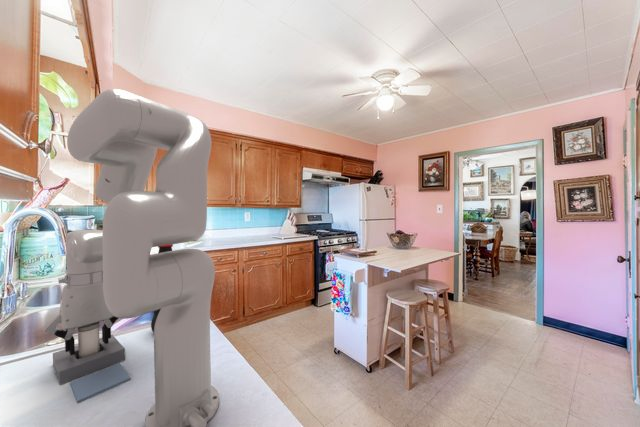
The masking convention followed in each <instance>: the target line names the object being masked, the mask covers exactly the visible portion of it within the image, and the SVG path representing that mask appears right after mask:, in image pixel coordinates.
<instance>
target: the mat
mask: <svg viewBox="0 0 640 427" xmlns="http://www.w3.org/2000/svg"><path fill="white" fill-rule="evenodd" d="M130 380H132V377H131V375H129V373H128V372H127V370H126V369H125V368H124V366H123V365H122V364H121V362H118V363H116V364H113V365H110V366H108V367H105V368H103V369H100V370H97V371H95V372H92V373H90V374H87V375H85V376H82V377H79V378H77V379H74V380H72V381H69V385H70V388H71V390H72V392H73V395H74V398H75V400H76V403H77V404H79V403H82V402H83V401H86V400H88V399H90V398H92V397H95V396H97V395H99V394H102V393H105V392H106V391H108V390H111V389H114V388H115V387H117V386H119V385H122V384H124V383H126V382H129V381H130Z"/></svg>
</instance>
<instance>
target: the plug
mask: <svg viewBox="0 0 640 427" xmlns="http://www.w3.org/2000/svg"><path fill="white" fill-rule="evenodd" d="M100 322H101V321H100ZM100 322H96V323H92V324H89V325H85V326H81V327H77V328H76V329H77V340H78V342H77V345H78V350H79V359H80V358H83V357H86V356H89V355H92V354H95V353H98V352H100V344H99V339H100V325H101V324H100Z"/></svg>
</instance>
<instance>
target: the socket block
mask: <svg viewBox="0 0 640 427" xmlns="http://www.w3.org/2000/svg"><path fill="white" fill-rule="evenodd" d="M108 340H109V343H107V344H105V343H104V342H103V341H102V337H99V344H100V352H98V353H95V354H92V355H89V356H86V357H83V358H80V359H79V350H78V344H77V345H75V354H74V355H70V353H69V352H66V351H65V348H64V349H61V350H58V351H55V352H52V365H53V369H54V372H55V375H56V378H57V381H58V384H59V386H60V385H64V384H66V383H70V382H72V381H74V380H77V379H79V378H82V377H85V376H87V375H90V374H92V373H95V372H97V371H100V370H102V369H105V368H108V367H110V366H113V365H115V364H118V363H121V362H124V361H125V360H126V348H125V347H124V345H123V344H121V342H120V341H119V340H118V339H117V338H116V337H115V336H114V334H111V338H109V339H108Z"/></svg>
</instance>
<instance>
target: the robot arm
mask: <svg viewBox="0 0 640 427" xmlns="http://www.w3.org/2000/svg"><path fill="white" fill-rule="evenodd" d="M66 139H67V140H66V144H67V149H68V153H69V154H70V156H72V158H73V159H74V160H77V161H79V162H82V163H89V164H90V163H91V164H95V165H96V164H97V165H101V166H100V171H99V173H98V177H97V180H96V183H95V185H94V186H95V187H94V194H95V196H96V197H97V198H98V199H99V200H100V201H102V202H104V203H106V204H107V205H106V208H105V209H104V214H103V218H102V219H103V220H102V230H101V229H79V230H78V229H77V230H72V231H70V232H68V233H66V236H65V237H66V238H65V249H66V252H65V253H66V255H65V256H66V273H65V275H64V276H62V277H58V284H66V285H65V286H63V288H62V291H61V297H60V306H59V314H58V315H56V316H55V317H54V318H53V319H52V320H51V321H50V322H49V323H48V324H47V325H46V326H45V327H44V332H45V333H48V334H51V335H54V336H55V337H58V338H61V339H63V340H64V349H65V351H66V352H69V353H70V355H74V354H75V346H76V345H75V344H76V342H75V341H76V340H75V338H74V336H73V335H74V333H75V330H76V329H77V327H81V326H85V325H89V324H92V323H96V322H102V323H103V325H102V327H101V338H102V341H103V342H104V343H105V344H107V343H109V340H108V339H109V338H111V335H112V327H113V325H114V324H115V323H116V322H117V321H118V320H119V319H123V320H125V319H126V320H128V319H133V318H137V317H140V316H143V315H145V314H149V313H152V312H154V311H155V310H158V309H161V310H160V312H159V314H158V316H157V319H156V322H155V327H154V333H153V353H154V354H153V355H154V356H153V357H154V358H153V361H154V366H153V367H154V404H153V405H152V406H151V407H150V408H149V410H148V411H147V413H146V416H145V421H144V422H145V423H144V427H207V423H208V422H209V421H210V420H211V419H212V418H213V417H214V416H215V414H216V412H217V410H218V407H219V405H220V394H219V390H218V389H217V388H216V387H215V386H213V385H212V384H211V382H212V380H211V378H212V377H211V376H212V375H211V372H212V371H211V301H212V295H213V293H212V292H213V289H214V283H215V279H216V278H215V277H216V269H215V268H216V267H215V264H214V263H215V262H214V260H213V258H212V257H211V256H210V255H209V254H208V253H207V252H206V251H204V250H202V249H198V248H197V249H196V248H181V249H176V250H175V249H174V250H172V251H168V252H162V253H158V252H157V253H152V254H151V251H152V249H153V248H156V247H157V248H158V246H164V245H172V244H173V245H177V244H185V243H189V242H194V241H196V240H199V239H200V238H201V237H202V236H203V235H204V234H205V232H206V228H207V220H208V168H209V163H210V161H209V160H210V157H211V151H212V136H211V132H210V130H209V128H208V126H207V125H206V123H205V122H203V121H202V120H201V119H200V118H198V117H196V116H194V115H192V114H189V113H188V112H185V111H182V110H180V109H177V108H175V107H171V106H170V105H166V104H164V103H162V102H161V103H160V102H157V101H155V100H153V99H150V98H147V97H143V96H141V95H138V94H136V93H133V92H131V91H128V90H125V89H119V88H109V89H108V88H107V89H105V90H103V91H102V92H101V93H99V94H98V95H97V96H96V97H95V98H94V99H93V100H92V101H91V102H90V103H89V104H88V105H87V106H86V107H85V108H83V110H82V111H81V112H79V114H78V115H77V116H76V117H75V119H74V121H73V122H72V124H71V125H70V128H69V130H68V133H67V138H66ZM158 149H160V150H164V151H167V152H166V153H165V154H164V155H163V156H162V157H161V158H160V160H159V162H158V164H157V166H156V172H155V173H156V174H155V176H156V185H155V191H151V190H150V191H149V190H145V189H146V186H147V183H148V181H149V180H148V179H149V177H150V175H151V171H152V169H153V166H154V163H155V159H156V157H157V154H158ZM59 324H60V325H61V327H62V329H61V328H58V327H57V326H58V325H59ZM63 329H64V330H63Z"/></svg>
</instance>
